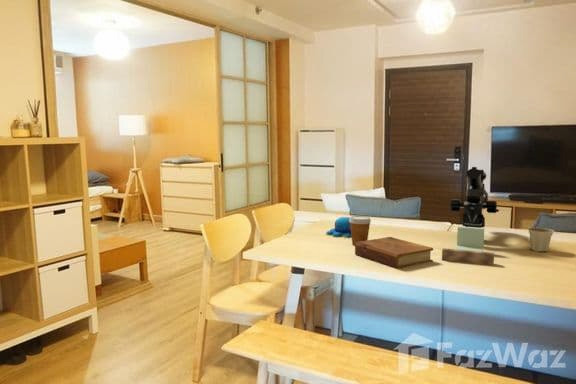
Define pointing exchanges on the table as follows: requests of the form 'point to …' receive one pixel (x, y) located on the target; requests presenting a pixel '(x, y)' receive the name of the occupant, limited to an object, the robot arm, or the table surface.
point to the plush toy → (341, 228)
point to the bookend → (470, 238)
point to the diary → (393, 252)
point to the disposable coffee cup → (359, 228)
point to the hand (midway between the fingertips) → (471, 222)
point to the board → (468, 256)
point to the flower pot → (540, 238)
